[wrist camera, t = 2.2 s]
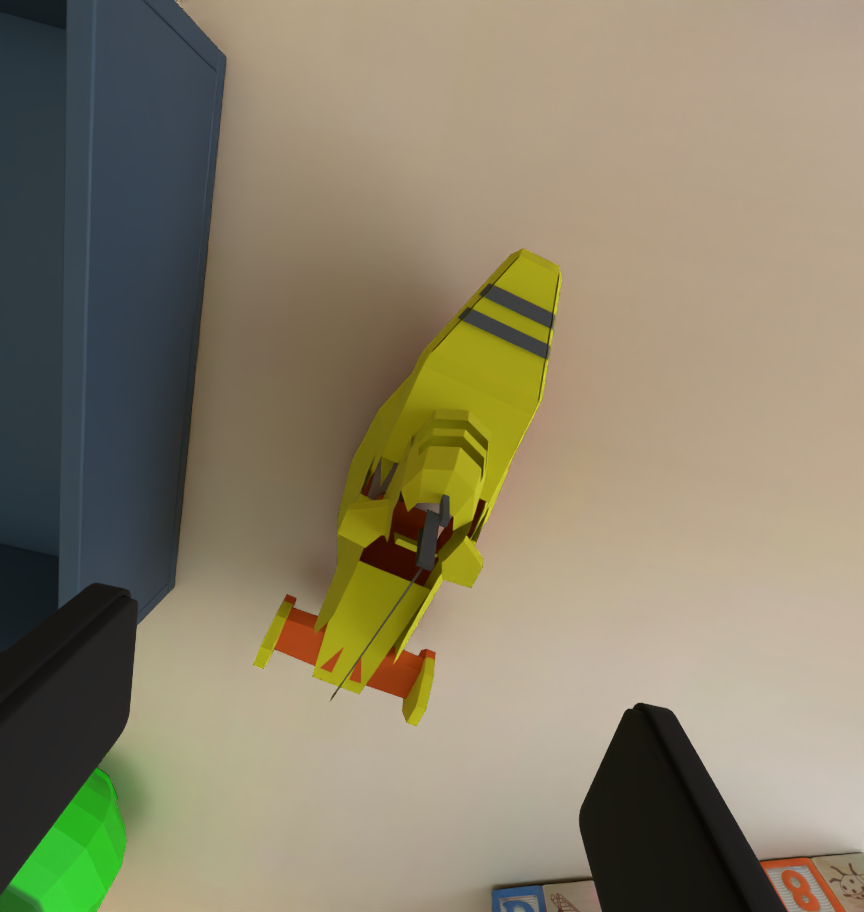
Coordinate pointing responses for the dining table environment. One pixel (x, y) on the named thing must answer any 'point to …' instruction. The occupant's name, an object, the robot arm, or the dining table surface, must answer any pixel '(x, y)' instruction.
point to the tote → (99, 293)
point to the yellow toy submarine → (428, 487)
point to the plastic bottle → (73, 856)
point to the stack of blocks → (795, 880)
